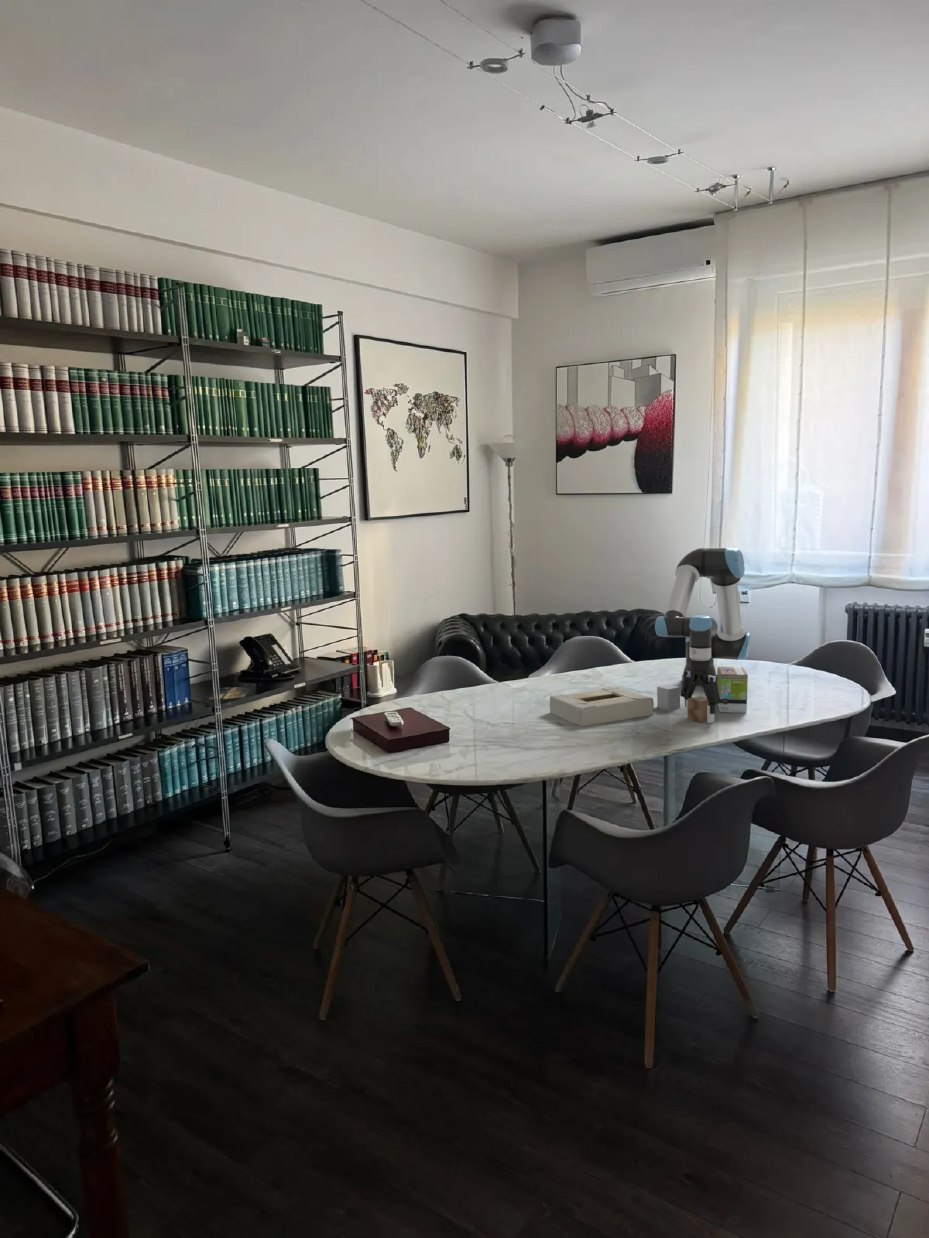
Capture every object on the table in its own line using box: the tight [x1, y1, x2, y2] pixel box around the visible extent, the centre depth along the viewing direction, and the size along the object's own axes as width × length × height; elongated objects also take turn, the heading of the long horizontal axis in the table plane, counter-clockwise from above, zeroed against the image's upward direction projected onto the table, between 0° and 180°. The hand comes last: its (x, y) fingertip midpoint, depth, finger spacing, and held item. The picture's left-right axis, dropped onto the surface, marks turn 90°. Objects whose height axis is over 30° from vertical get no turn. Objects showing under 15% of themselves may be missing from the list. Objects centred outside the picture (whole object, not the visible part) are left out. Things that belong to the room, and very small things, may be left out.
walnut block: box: [687, 695, 709, 724], centre depth 310 cm, size 6×6×8 cm
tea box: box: [716, 666, 749, 714], centre depth 324 cm, size 15×10×15 cm
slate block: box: [656, 684, 681, 710], centre depth 330 cm, size 6×6×8 cm
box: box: [549, 686, 655, 727], centre depth 324 cm, size 23×8×32 cm
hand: (699, 719), depth 310 cm, fingers open, 9 cm apart
